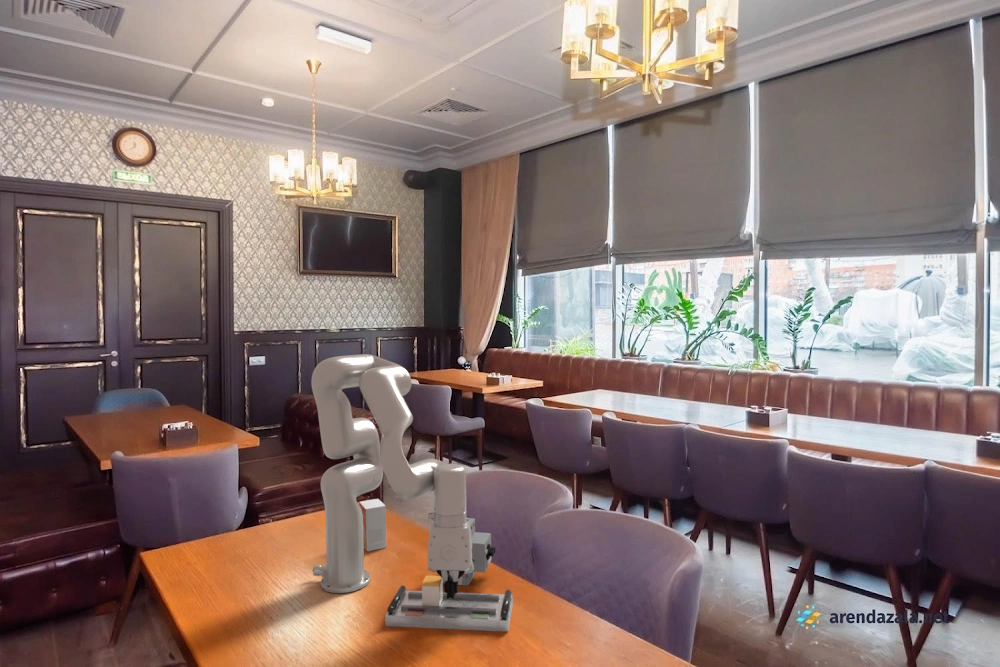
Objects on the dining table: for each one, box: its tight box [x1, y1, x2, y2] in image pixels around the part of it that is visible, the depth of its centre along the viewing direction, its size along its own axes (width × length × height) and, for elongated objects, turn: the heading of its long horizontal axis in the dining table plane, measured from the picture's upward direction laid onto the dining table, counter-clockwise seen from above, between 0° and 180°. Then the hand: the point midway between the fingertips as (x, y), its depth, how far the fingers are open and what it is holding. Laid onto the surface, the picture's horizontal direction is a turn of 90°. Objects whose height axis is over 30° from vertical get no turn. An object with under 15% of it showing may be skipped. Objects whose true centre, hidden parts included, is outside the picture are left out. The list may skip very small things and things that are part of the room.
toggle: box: [421, 574, 444, 606], centre depth 136 cm, size 4×4×6 cm
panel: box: [384, 585, 514, 633], centre depth 136 cm, size 28×12×4 cm, turn 84°
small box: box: [358, 498, 387, 552], centre depth 178 cm, size 8×6×13 cm
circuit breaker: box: [438, 517, 496, 586], centre depth 154 cm, size 8×14×15 cm, turn 78°
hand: (451, 595), depth 136 cm, fingers closed
